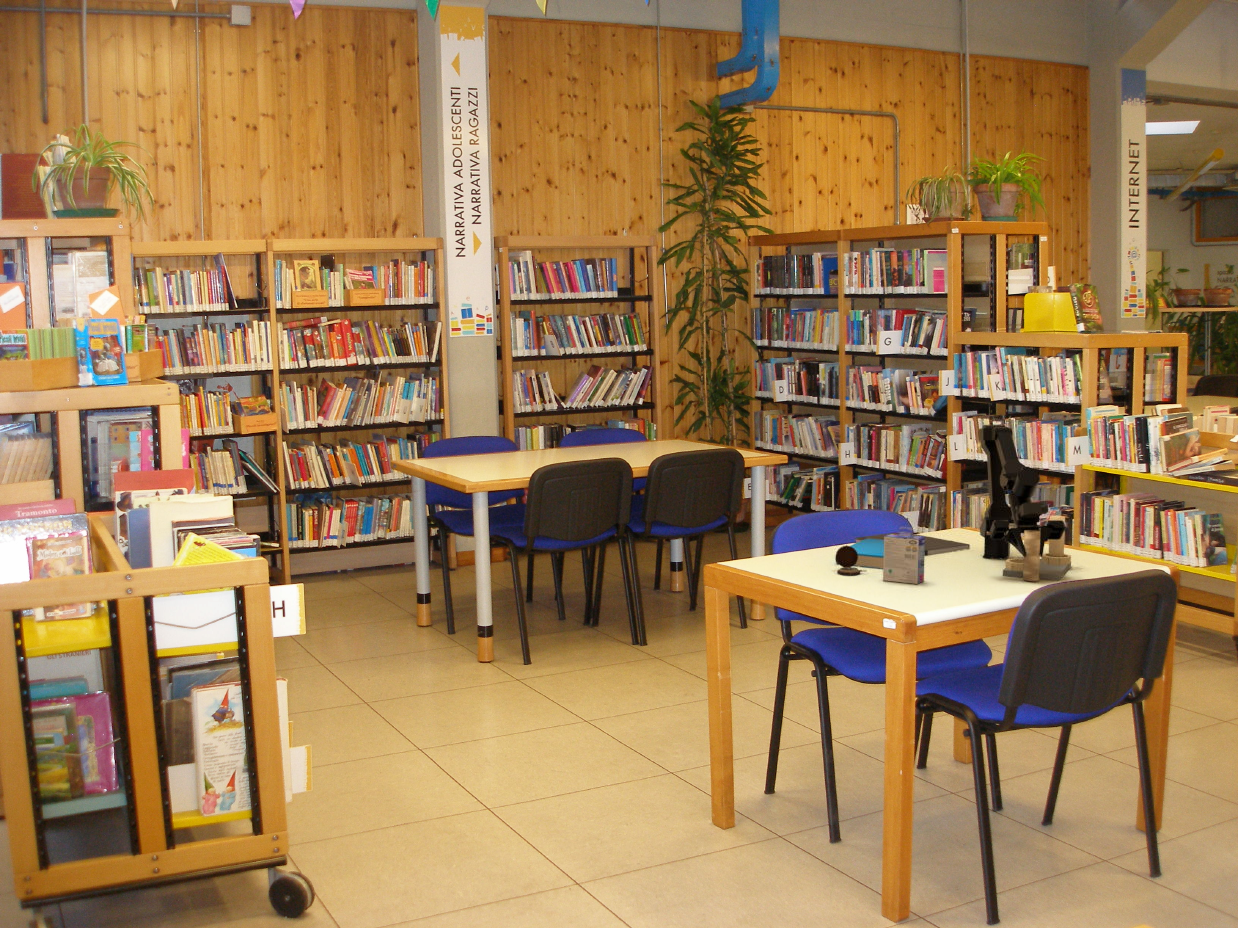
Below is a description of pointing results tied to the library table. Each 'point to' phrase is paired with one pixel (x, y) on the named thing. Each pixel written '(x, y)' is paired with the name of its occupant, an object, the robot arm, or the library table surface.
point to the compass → (847, 561)
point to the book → (869, 553)
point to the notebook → (928, 544)
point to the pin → (1031, 555)
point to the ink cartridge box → (904, 557)
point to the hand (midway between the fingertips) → (1033, 555)
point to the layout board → (1042, 571)
